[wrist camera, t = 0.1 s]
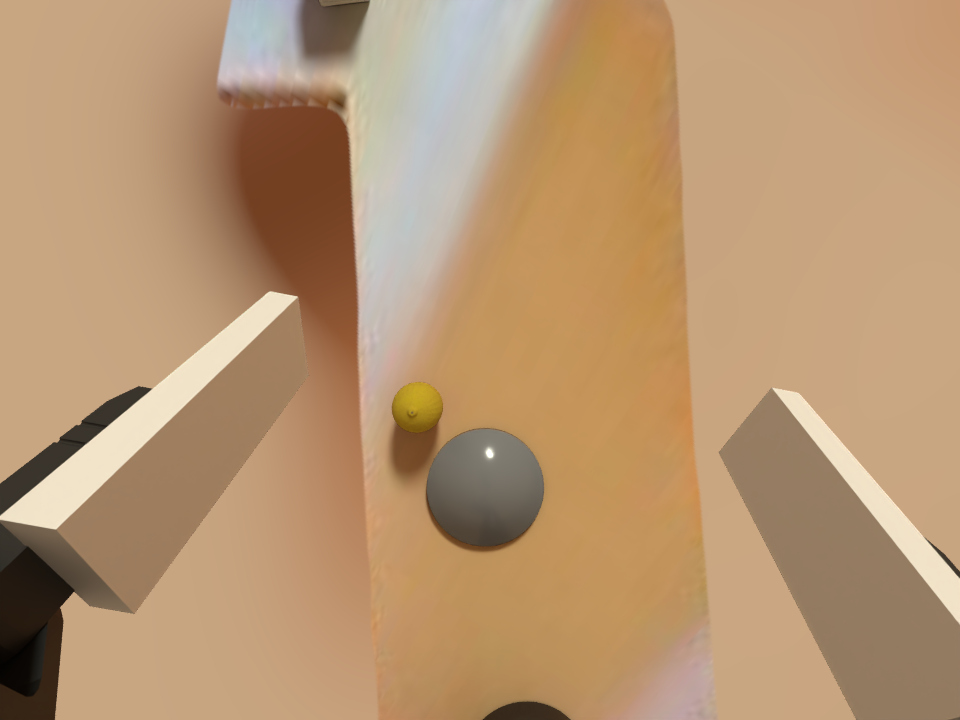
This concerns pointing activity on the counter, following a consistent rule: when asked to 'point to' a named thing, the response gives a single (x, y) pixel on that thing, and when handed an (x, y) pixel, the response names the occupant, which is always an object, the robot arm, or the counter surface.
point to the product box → (338, 2)
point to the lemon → (417, 407)
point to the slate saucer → (485, 487)
